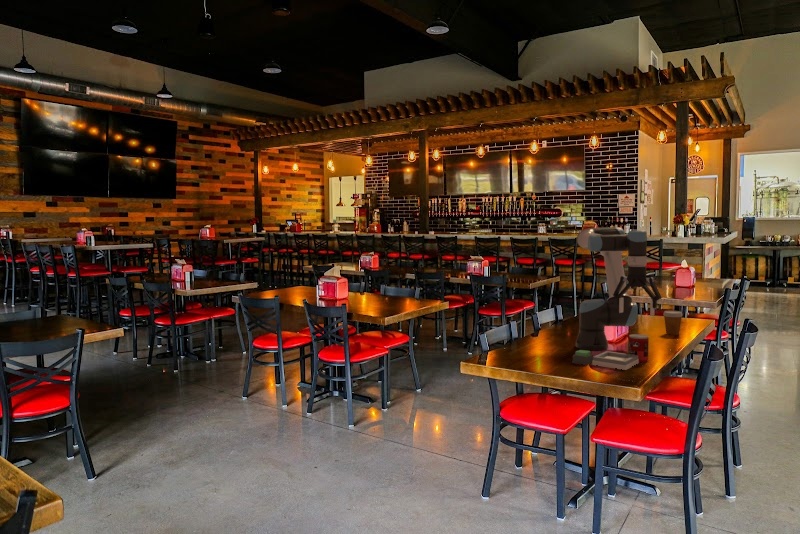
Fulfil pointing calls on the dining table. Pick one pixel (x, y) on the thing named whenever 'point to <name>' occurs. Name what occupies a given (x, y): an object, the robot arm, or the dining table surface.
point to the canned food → (639, 346)
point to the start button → (583, 353)
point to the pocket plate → (615, 360)
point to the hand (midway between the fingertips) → (636, 313)
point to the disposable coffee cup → (672, 322)
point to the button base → (582, 359)
